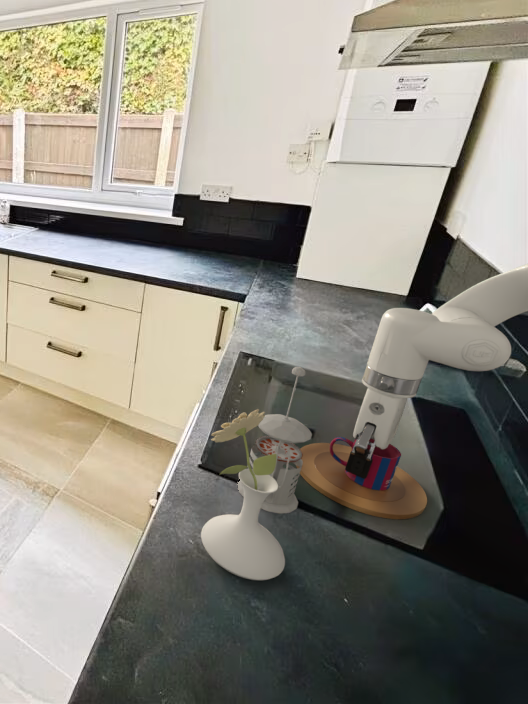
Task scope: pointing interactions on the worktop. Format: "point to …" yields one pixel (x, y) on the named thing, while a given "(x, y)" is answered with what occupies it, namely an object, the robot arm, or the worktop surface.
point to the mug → (374, 465)
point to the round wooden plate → (335, 484)
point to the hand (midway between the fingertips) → (361, 464)
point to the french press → (281, 455)
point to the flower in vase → (246, 514)
